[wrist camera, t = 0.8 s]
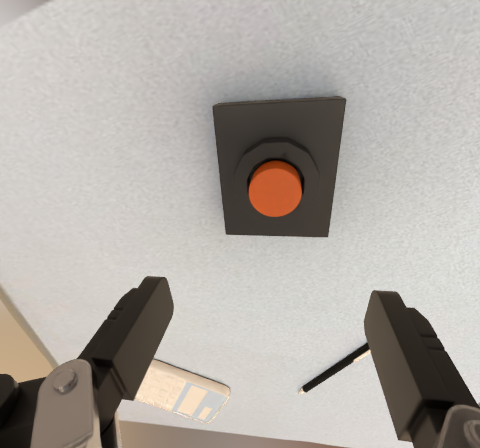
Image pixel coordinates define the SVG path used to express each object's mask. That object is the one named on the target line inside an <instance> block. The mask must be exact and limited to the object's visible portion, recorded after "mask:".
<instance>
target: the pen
mask: <svg viewBox="0 0 480 448" xmlns="http://www.w3.org/2000/svg"><path fill="white" fill-rule="evenodd" d="M369 353H371V351H370V348H369V345H368V343H367V344H366V345H364V346H363V347H361V348H360V349H358V350H357V351H355V352H354V353H352V354H351V355H349V356H348V357H346V358H345V359H343V360H342V361H340V362H339V363H338V364H336V365H335V366H333V367H332V368H330V369H329V370H327V371H326V372H324V373H323V374H321V375H320V376H318V377H317V378H315V379H314V380H312V381H311V382H309V383H308V384H306V385H305V386H303V387H302V389H301V390H300V391H299V393H298V394H301V393H306V392H308V391H309V390H311V389H312V388H314V387H315V386H317V385H318V384H320V383H322V382H323V381H325V380H326V379H328V378H329V377H331V376H332V375H334V374H335V373H337V372H339V371H340V370H342V369H343V368H345V367H346V366H348V365H349V364H351V363H352V362H357V361H359V360H360V359H362V358H363V357H365V356H366V355H368V354H369Z"/></svg>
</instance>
